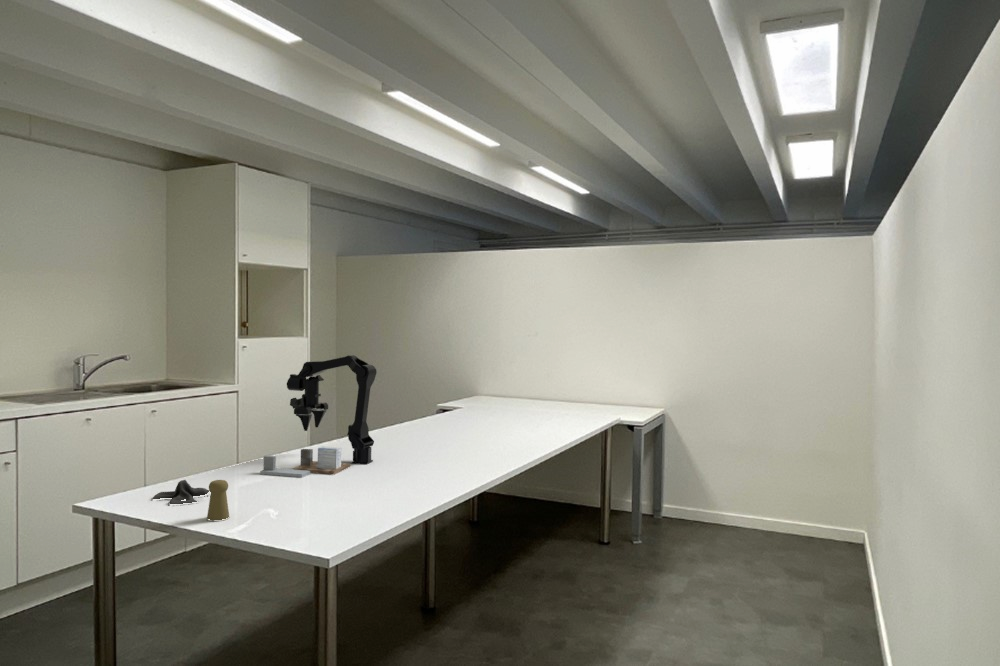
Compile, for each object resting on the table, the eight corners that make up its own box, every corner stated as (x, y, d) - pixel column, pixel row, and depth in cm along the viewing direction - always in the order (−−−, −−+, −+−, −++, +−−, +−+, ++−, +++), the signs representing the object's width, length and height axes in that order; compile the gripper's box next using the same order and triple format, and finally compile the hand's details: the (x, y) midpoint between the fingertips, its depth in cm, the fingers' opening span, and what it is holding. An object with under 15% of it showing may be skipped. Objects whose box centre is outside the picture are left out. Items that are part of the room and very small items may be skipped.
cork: (211, 515, 200) (211, 478, 200) (232, 515, 200) (232, 478, 200) (203, 521, 194) (204, 483, 194) (225, 521, 194) (226, 483, 194)
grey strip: (310, 473, 254) (310, 457, 253) (301, 477, 248) (302, 460, 248) (269, 470, 257) (269, 454, 257) (260, 474, 251) (260, 457, 251)
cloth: (180, 510, 206) (181, 490, 206) (137, 503, 213) (137, 483, 213) (235, 493, 227) (235, 475, 227) (194, 487, 234) (194, 469, 234)
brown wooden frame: (350, 466, 267) (350, 448, 267) (333, 474, 253) (334, 455, 253) (310, 463, 270) (310, 445, 270) (292, 471, 257) (292, 452, 257)
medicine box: (341, 469, 261) (342, 447, 262) (336, 471, 257) (336, 448, 257) (322, 468, 263) (323, 446, 263) (316, 470, 259) (317, 447, 259)
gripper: (305, 388, 293) (304, 424, 293) (282, 393, 275) (281, 431, 275) (329, 389, 290) (328, 426, 291) (307, 394, 272) (306, 433, 272)
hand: (311, 429), depth 282 cm, fingers open, 9 cm apart
